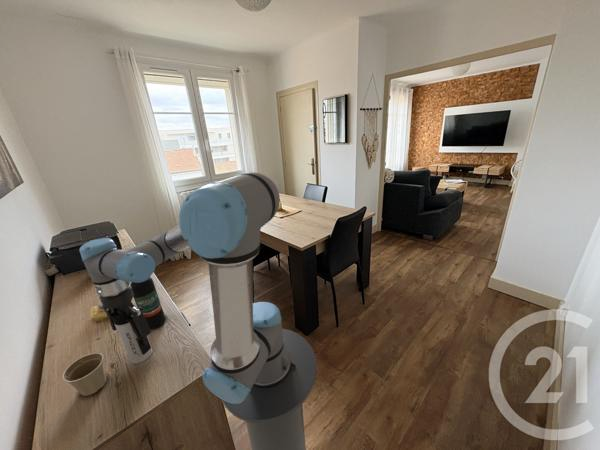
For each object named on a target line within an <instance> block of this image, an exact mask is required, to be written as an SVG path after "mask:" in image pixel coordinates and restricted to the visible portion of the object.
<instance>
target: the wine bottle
mask: <svg viewBox="0 0 600 450" xmlns="http://www.w3.org/2000/svg"><path fill="white" fill-rule="evenodd" d="M129 285H130V286H131V288H132V291H133V294H134V296H133V301H134V302H135V306H136V309H139V308H140V307H141V308H142V309H143V314H144V317H145V319H146V321H147V324H148V326H149V328H150V330H151V331H152V330H156V329H157V328H160V327H161V326H163V325H164V323H165V322H166V320H167V319H166V316H165V312H164V309H163V307H162V303H161V300H160V297H159V294H158V291H157V288H156V285H155V283H154V280H153V278H152V277H150V278H149V279H147V280H146V281H143V282H139V283H135V282H130V284H129Z"/></svg>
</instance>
